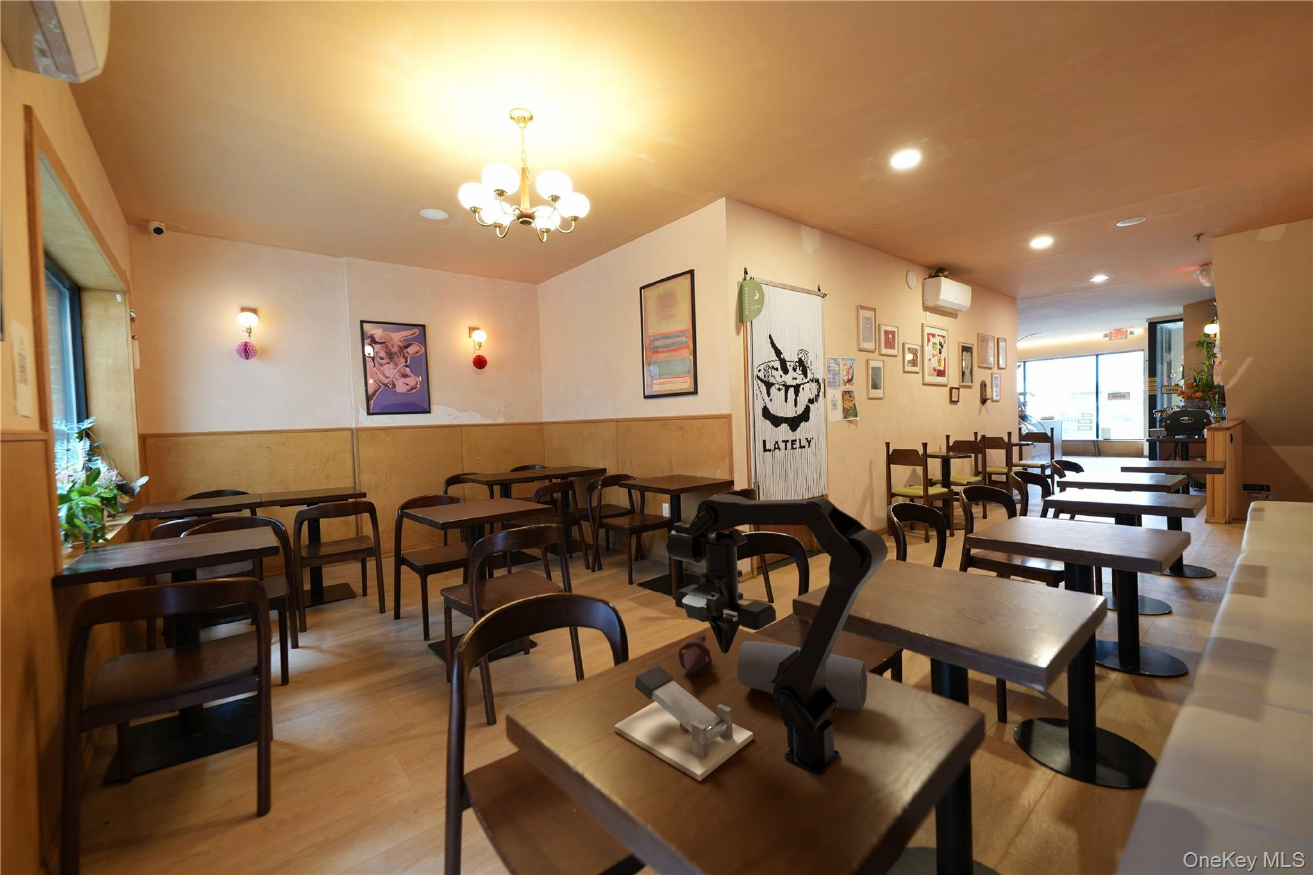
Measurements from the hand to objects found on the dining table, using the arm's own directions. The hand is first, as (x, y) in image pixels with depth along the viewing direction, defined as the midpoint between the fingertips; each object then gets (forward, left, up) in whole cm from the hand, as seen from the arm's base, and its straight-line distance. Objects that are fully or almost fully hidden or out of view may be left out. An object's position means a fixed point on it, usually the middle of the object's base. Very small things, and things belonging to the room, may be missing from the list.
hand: (725, 652), depth 97 cm
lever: (+5, +8, -8) cm, 13 cm away
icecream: (+17, -11, -13) cm, 24 cm away
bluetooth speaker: (-6, -15, -13) cm, 21 cm away
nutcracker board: (+4, +8, -13) cm, 16 cm away
